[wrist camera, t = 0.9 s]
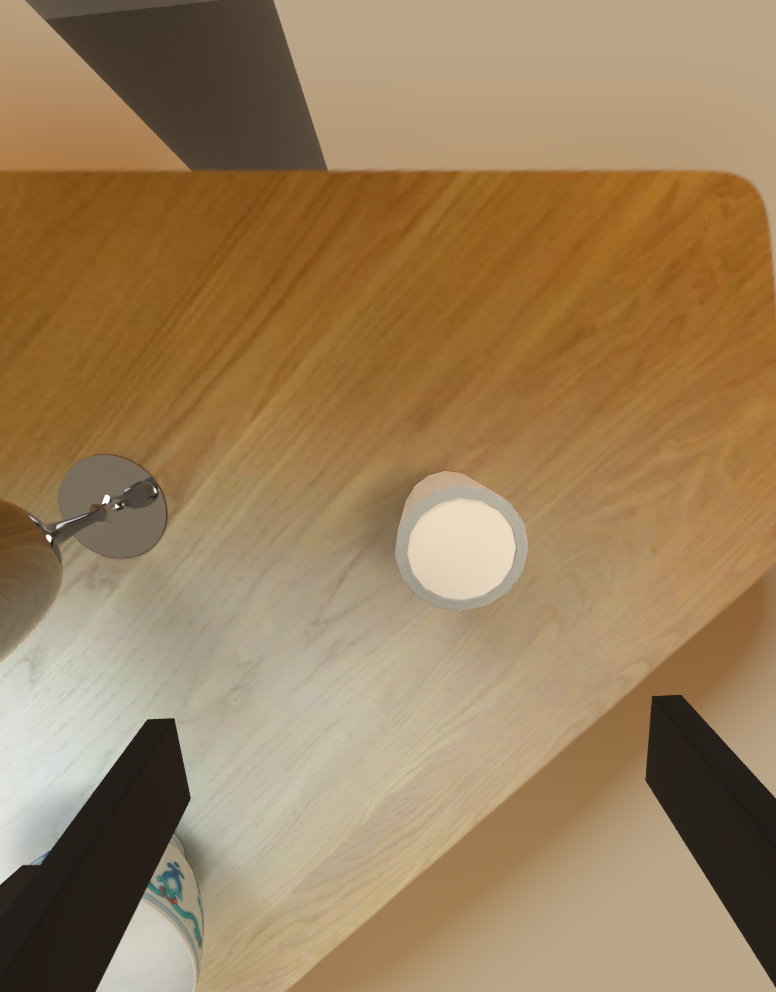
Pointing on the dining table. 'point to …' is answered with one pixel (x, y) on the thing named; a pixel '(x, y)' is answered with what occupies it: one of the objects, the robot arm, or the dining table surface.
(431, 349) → the dining table surface
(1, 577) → the wine glass
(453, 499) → the shot glass
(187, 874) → the chinaware
